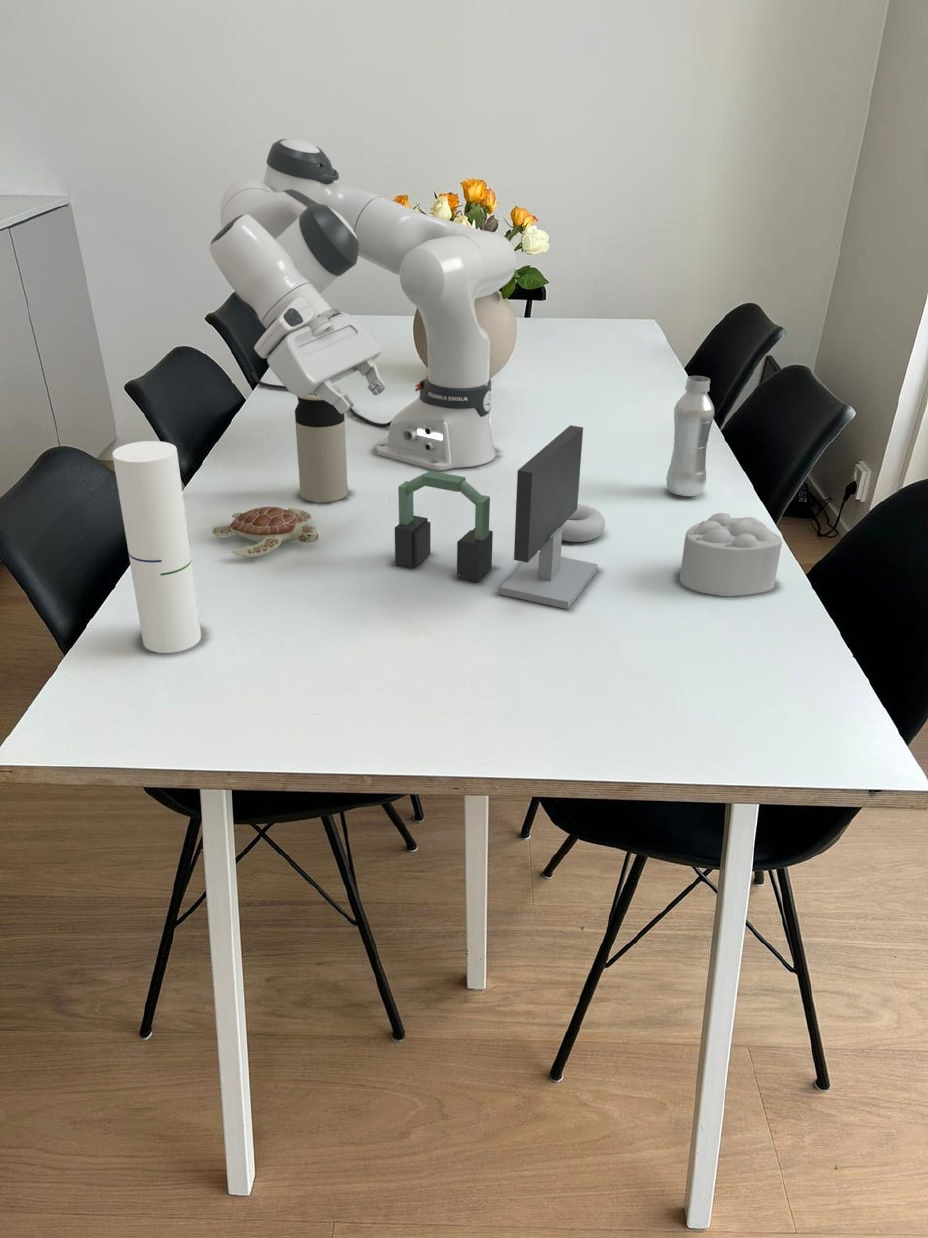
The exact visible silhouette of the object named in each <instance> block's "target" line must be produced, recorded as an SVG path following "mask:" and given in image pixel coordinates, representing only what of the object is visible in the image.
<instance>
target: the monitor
mask: <svg viewBox="0 0 928 1238" xmlns="http://www.w3.org/2000/svg"><path fill="white" fill-rule="evenodd" d="M583 437H584V427H583V426H577V425H571V424H570V425H569V426H568V427H566V428H565V429H564V430H563V431H562V432H561V433H559V434H558V435H557V436H555V438H553V439H552V440H551V441H550V442H549V443H548V444H547V445H545V446H544V447H543V448H542V449H541V450H540V451H538V452H537V453H536V454H534V456H533V457H531V458H530V459H529V460H528V461H527V462H525V463H524V464H523V465H522V466H521V467H520V468H519V469H517V472H516V473H517V475H516V498H515V499H516V501H515V521H514V522H515V523H514V524H515V525H514V546H513V547H514V548H513V561H516V562H517V561H518V562H522V563H521V564H520V565H519V566H518V567H517V568H516V569H515V570H514V571H513V573H512V574H510V576H509V577H508V578H507V579H506V580H504V582H503V584H501V585H500V586H499V595H500V596H505V597H510V598H514V599H519V600H524V601H528V602H533V603H537V604H540V605H541V604H542V605H545V606H551V607H555V608H560V609H564V610H568V609H569V608H570V607H571V606H572V604H573V603H574V602H575V601H576V600H577V598H578V597H579V595H580V594H581V593H582V591H583V590H584V589H585V588H586V586H587V585H588V584H589V582H590V581H591V580H592V578H593V577H594V576H595V575H596V574H597V572H598V569H599V568H598V566H599V564H598V563H595V562H590V561H585V560H580V559H574V558H570V557H566V556H565V557H564V556H561V555H562V542H563V541H562V528H560V527H561V526H562V525H563V524H564V523H565V522H566V521H567V520H568V519H569V518H570V517H571V515H572V514H573V513H574V512H575V511H576V510H577V505H578V504H579V490H580V477H581V475H580V474H581V464H582V463H581V462H582V450H583Z"/></svg>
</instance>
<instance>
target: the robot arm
mask: <svg viewBox="0 0 928 1238" xmlns="http://www.w3.org/2000/svg"><path fill="white" fill-rule="evenodd" d="M265 162H266V164H267V165H266V169H265V174H264V177H263V182H261V181H259V180H257V179H253V178H242V179H238V180H236V181H235V182H232V184H230V185H229V186H228V187H227V188H226V189H225V191H224V193H223V195H222V199H221V202H220V208H219V211H220V212H219V216H220V224H221V230H220V231H219V232H217V234H216V235H215V236H214V237H213V238H212V240H211V242H210V245H209V249H208V251H209V253H210V255H211V257H212V259H213V261H214V262H215V264H216V266H217V267H218V269H219V271H220V272H221V273H222V275H223V276H224V278H225V279H226V281H227V282H228V284H229V285H230V286H231V287H232V289H233V290H234V295H235V296H236V298H237V299H238V300H239V301H240V303H241V304H242V305H243V306H244V307H245V308H246V310H247V311H248V312H249V314H250V315H252V316H253V318H255V319H256V320H258V321H260V324H261V325H262V326H263V327H264V329H265V332H263V334H262V336H261V337H260V338H259V339H258V341H257V342H256V343H255V345H254V347H253V349H254V351H255V352H256V354H257V355H258V356H259V357H260V358H261V359H267V360H266V361H267V364H268V366H269V368H270V369H271V371H272V372H273V374H274V375H275V376H276V378H277V379H278V380H279V381H280V383H282V385H280V384H271V383H267V382H264V381H261V380H259V378H258V376H257V374H256V373H255V372H254V371H253V372H250V374H249V376H248V378H250V379H252V378H253V380H254V381H255V383H256V384H258V385H259V386H262V387H266V388H269V389H271V388H272V389H280V390H287V391H288V392H289V393H291V394H292V395H293V396H295V397H297V396H298V397H300V398H303V397H305V396H307V395H309V394H311V393H313V392H316V393H317V395H318V396H319V397H320V398H321V399H323V400H325V401H326V402H328V403H330V404H332V405H334V407H335V408H336V409H337V410H338V412H339V413H341V414H343V413H344V414H345V413H347V412H349V413H350V414H351V415H352V416H353V417H354V418H356V419H358V420H360V421H362V422H364V423H365V424H367V425H369V426H373V427H375V428H376V427H377V428H388V427H389V428H388V435H387V436H385V437H384V438H383V439H381V440H380V441H379V442H378V443H377V445H376V450H375V451H376V455H378V456H381V457H386V458H389V459H392V460H396V461H400V462H404V463H408V464H410V465H414V466H418V467H421V468H425V469H429V470H432V471H437V472H438V471H446V470H451V469H458V468H472V467H476V466H477V467H478V466H482V465H484V464H487V463H490V462H491V461H493V460H494V459H495V458H496V456H497V451H496V449H495V444H494V440H493V436H492V428H491V417H490V415H491V414H490V412H491V409H492V401H493V400H492V399H493V398H492V396H493V395H492V380H491V379H490V363H491V361H490V360H491V359H490V358H491V339H490V336H489V334H488V332H487V331H486V330H485V328H483V327H481V326H480V323H479V321H478V318H477V313H476V308H475V301H476V300H478V299H480V298H484V297H487V296H491V295H493V294H494V293H496V292H498V291H499V290H500V289H502V288H503V287H505V286H506V285H507V284H508V283H509V282H510V281H511V280H512V278H513V277H514V275H515V272H516V268H517V255H516V252H515V249H514V246H513V245H512V243H511V241H510V240H509V239H508V238H507V237H506V236H504V235H503V234H500V233H498V232H495V231H489V230H483V229H479V228H476V227H472V226H469V225H466V224H463V223H460V222H456V221H452V220H449V219H445V218H440V217H437V216H433V215H429V214H426V213H422V212H420V211H417V210H415V209H412V208H410V207H408V206H405V205H403V204H402V203H399V202H398V201H395V200H393V199H390V198H388V197H386V196H384V195H381V194H379V193H376V192H374V191H371V190H367V189H364V188H360V187H356V186H351V185H339V184H337V183H335V182H336V181H338V180H339V179H340V175H339V172H338V171H337V169H335V168H334V167H333V165H332V163H331V160H330V158H329V156H327V155H326V153H325V152H324V151H323V150H322V149H321V148H320V147H319V146H317V145H315V144H313V143H311V142H310V141H308V140H305V139H302V138H283V139H279V140H277V141H275V142H273V143H272V145H271V146H270V149H269V152H268V155H267V158H266V161H265ZM359 257H360V258H362V259H363V260H366V261H368V262H370V263H371V264H374V265H376V266H378V267H379V268H382V269H384V270H386V271H387V272H390V273H393V274H395V275H397V276H399V283H400V286H401V290H402V291H403V293H404V295H405V297H406V298H407V299H408V300H409V302H411V303H412V304H413V305H414V306H415V307H416V309H417V310H418V312H419V315H420V317H421V319H422V322H423V323H422V324H423V327H424V330H425V336H426V343H427V345H426V346H427V375H426V376H425V378H423V379H422V380H419V383H417V384H415V385H414V386H415V390H414V391H415V392H418V391H419V395H418V398H416V399H415V400H413V401H412V402H410V403H409V404H408V405H407V406H406V407H404V408H403V409H402V410H400V411H399V412H397V413H396V414H395V415H394V416H393V418H392V419H391V420H390V421H389V422H385V423H379V422H374V421H372V420H370V419H368V418H366V417H364V416H362V415H360V414H359V413H357V412H356V411H355V410H354V409H353V407H354V402H353V401H352V400H351V399H350V398H349V396H348V395H347V394H344V395H343V394H340V393H339V392H338V391H336V390H335V389H334V388H332V387H333V386H335V385H334V384H333V383H336V382H337V381H339V380H341V379H343V378H346V377H348V376H349V375H352V374H354V373H356V372H359V374H360V375H361V376H362V377H363V376H365V378H366V381H367V383H368V386H367V389H368V390H369V391H370V392H371V393H372V395H373V396H378V395H380V394H382V393H383V392H384V391H385V390H386V389H387V385H386V383H385V382H384V381H383V379H382V378H381V376H380V373H379V368H378V366H377V364H376V362H375V361H376V360H377V358H378V357H379V356H380V355H381V354H382V347H381V344H380V342H379V341H378V340H377V339H376V338H375V336H374V335H373V334H372V333H371V332H370V331H369V330H368V329H367V328H366V327H365V326H364V325H363V323H361V322H360V321H359V320H358V319H357V318H356V317H355V316H353V315H352V314H350V313H346V312H343V311H342V310H339V309H338V308H332V307H331V306H330V304H329V303H328V302H327V301H326V300H325V298H324V297H323V296H322V295H321V293H322V292H324V291H325V290H326V289H327V288H329V286H330V285H331V284H332V283H333V282H335V280H337V279H338V278H339V277H341V276H343V275H344V274H345V273H347V272H348V271H349V270H350V269H352V268H353V267H354V266H356V265H357V262H358V258H359Z"/></svg>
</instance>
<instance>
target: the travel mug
mask: <svg viewBox="0 0 928 1238" xmlns="http://www.w3.org/2000/svg"><path fill="white" fill-rule="evenodd" d="M332 388H334V389H335V390H336V391H338V392H339V393H340V394H341V395H343V394H342V393H343V390H342V389H341V388H340V387H339V386H337V385H334V386H333V387H332ZM296 397H297V398H296V399H297V405H296V408H295V409H294V421H295V432H296V433H295V435H296V449H297V451H296V452H297V464H298V479H299V481H298V482H299V492H300V494H299V495H300V496H301V498H303V499H305V500H306V501H310V502H313V503H319V504H320V503H321V504H322V503H323V504H325V503H333V502H337V501H340V500H341V499H343V498H345V497H346V496H348V493H349V489H348V488H349V487H348V486H349V485H348V466H347V464H348V463H347V444H346V418H345V417H346V416H345V413H343V414H341V413H339V412H338V410H337V409H336V408H335V407H334V405H332V404H330V403H328V402H326V401H325V400H323V399H321V398H320V397H319V396H318V395H317V393H316V392H313V393H311V394H309V395H307V396H305V397H303V398H300V397H298V396H296Z"/></svg>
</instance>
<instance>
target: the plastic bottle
mask: <svg viewBox="0 0 928 1238" xmlns="http://www.w3.org/2000/svg"><path fill="white" fill-rule="evenodd" d="M710 384H711V379H710V378H709V377H706V376H704V375H703V376H702V375H691V376H687V378H686V384H685V387H684V390H685V391H686V392H685V393H683V395H682V396H681V397H680V398H679V399H678V400H677V402H676V403H675V406H674V408H673V422H674V423H673V424H674V426H673V427H674V436H673V440H674V441H673V449H672V454H671V459H670V465H669V466H668V470H667V474H666V477H665V480H666V487H667V489H668V491H669V492H670V493H672V494H673V495H677V496H681V497H695V496H699V495H700V494H702V492H704V490H705V487H706V484H707V469H706V466H707V465H706V464H707V463H706V461H707V447H708V441H709V435H710V432H711V429H712V424H713V421H714V417H715V406H714V404H713V402H712V400H711V398H710V396H709V394H708V392H710V389H711V388H710V386H711V385H710Z"/></svg>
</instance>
